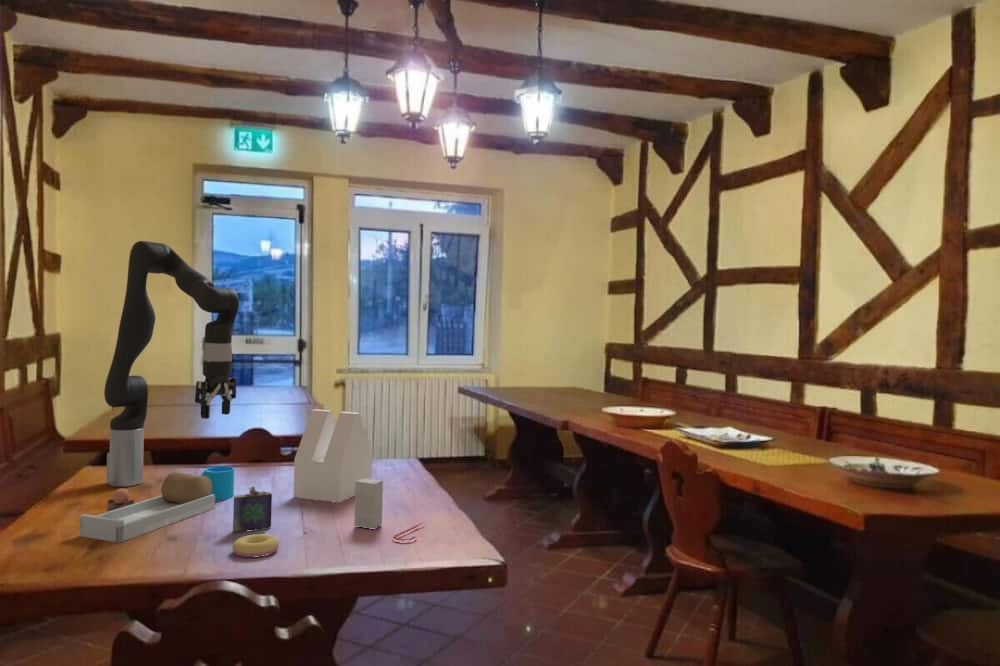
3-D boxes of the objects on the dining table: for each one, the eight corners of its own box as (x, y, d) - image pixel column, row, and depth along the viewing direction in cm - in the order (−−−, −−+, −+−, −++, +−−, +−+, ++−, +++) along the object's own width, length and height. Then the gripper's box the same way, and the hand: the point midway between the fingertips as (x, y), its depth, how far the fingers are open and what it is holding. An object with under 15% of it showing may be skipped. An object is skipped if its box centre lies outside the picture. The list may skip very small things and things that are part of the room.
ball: (108, 504, 186) (108, 489, 186) (121, 500, 190) (121, 486, 190) (120, 506, 185) (120, 491, 185) (132, 502, 189) (133, 487, 189)
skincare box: (382, 526, 184) (383, 480, 184) (374, 530, 180) (375, 484, 180) (361, 523, 186) (363, 477, 186) (353, 527, 182) (354, 481, 181)
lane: (79, 536, 168) (80, 496, 168) (179, 503, 198) (180, 469, 198) (119, 542, 164) (119, 501, 164) (214, 508, 195) (215, 473, 194)
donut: (233, 558, 164) (235, 565, 155) (230, 538, 164) (232, 544, 155) (277, 546, 168) (282, 553, 159) (274, 527, 168) (279, 533, 159)
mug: (239, 496, 208) (240, 468, 208) (216, 502, 201) (216, 473, 201) (212, 490, 214) (213, 463, 214) (188, 495, 207) (189, 467, 207)
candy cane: (440, 531, 183) (440, 525, 183) (408, 547, 170) (408, 541, 170) (420, 527, 186) (420, 522, 186) (387, 543, 172) (387, 537, 172)
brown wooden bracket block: (107, 512, 187) (107, 499, 187) (116, 509, 190) (116, 497, 190) (124, 515, 185) (125, 502, 185) (134, 512, 188) (134, 499, 188)
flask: (233, 533, 174) (234, 490, 173) (231, 530, 176) (232, 487, 176) (272, 529, 178) (273, 486, 178) (269, 525, 181) (270, 484, 181)
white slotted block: (339, 503, 204) (341, 417, 203) (293, 497, 209) (295, 413, 208) (371, 488, 222) (373, 409, 222) (328, 483, 227) (330, 406, 226)
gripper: (223, 356, 206) (221, 411, 207) (188, 359, 193) (186, 418, 193) (244, 358, 204) (242, 414, 205) (211, 361, 191) (209, 421, 191)
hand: (215, 416), depth 199 cm, fingers open, 8 cm apart
